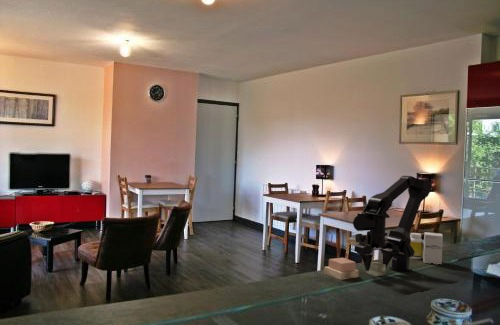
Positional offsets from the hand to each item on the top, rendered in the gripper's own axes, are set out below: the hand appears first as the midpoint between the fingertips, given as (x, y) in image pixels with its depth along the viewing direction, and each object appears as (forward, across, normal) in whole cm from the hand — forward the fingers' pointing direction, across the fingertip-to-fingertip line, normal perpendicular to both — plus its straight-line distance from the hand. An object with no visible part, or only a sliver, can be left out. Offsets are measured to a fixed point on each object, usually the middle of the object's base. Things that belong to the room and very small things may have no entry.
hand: (376, 269), depth 161 cm
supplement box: (+2, -38, -3) cm, 38 cm away
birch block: (+2, +14, -4) cm, 15 cm away
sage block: (+2, 0, 0) cm, 2 cm away
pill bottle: (+2, -38, -12) cm, 40 cm away
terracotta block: (-1, +14, -4) cm, 15 cm away
